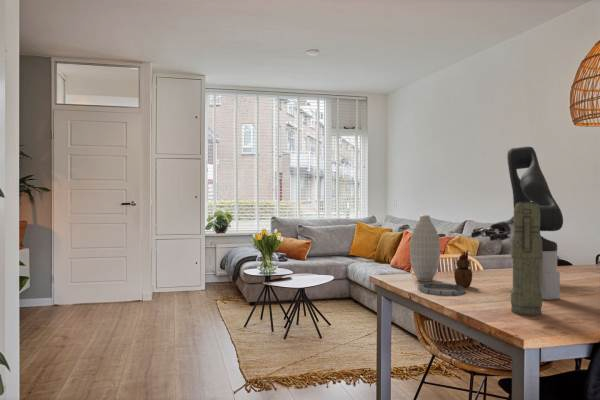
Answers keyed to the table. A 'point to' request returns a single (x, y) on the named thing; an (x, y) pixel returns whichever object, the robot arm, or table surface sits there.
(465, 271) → the wooden figurine
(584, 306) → the table surface
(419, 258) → the vase
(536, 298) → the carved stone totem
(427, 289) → the steel ring
